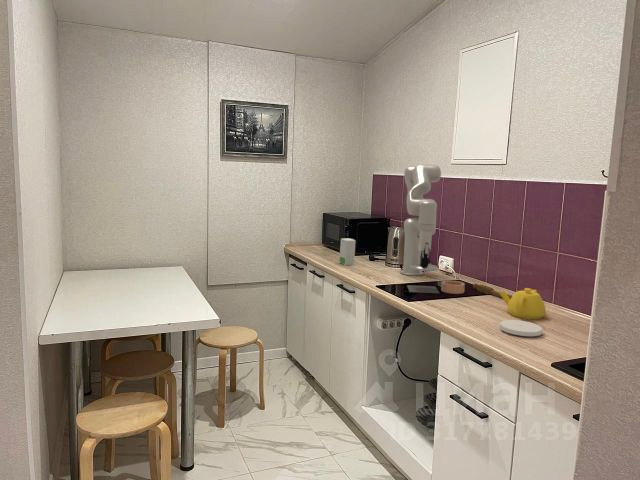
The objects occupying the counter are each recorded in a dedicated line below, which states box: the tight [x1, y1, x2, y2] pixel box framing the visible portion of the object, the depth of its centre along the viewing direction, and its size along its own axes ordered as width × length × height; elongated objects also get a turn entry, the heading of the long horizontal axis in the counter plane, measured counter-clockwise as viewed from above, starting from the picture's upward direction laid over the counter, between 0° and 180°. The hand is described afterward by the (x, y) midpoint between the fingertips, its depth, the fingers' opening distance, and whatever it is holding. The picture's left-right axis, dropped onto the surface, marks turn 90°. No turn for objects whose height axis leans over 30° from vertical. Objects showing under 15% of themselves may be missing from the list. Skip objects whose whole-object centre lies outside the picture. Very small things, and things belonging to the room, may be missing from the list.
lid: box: [410, 256, 439, 272], centre depth 230 cm, size 13×13×5 cm
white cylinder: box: [338, 237, 357, 266], centre depth 294 cm, size 8×7×16 cm
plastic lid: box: [499, 319, 543, 337], centre depth 172 cm, size 14×14×2 cm
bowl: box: [440, 280, 466, 295], centre depth 229 cm, size 10×10×4 cm
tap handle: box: [472, 283, 513, 300], centre depth 225 cm, size 3×3×30 cm
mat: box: [406, 284, 440, 294], centre depth 232 cm, size 14×14×1 cm
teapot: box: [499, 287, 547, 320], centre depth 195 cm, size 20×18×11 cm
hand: (423, 264), depth 231 cm, fingers closed on lid, 3 cm apart
